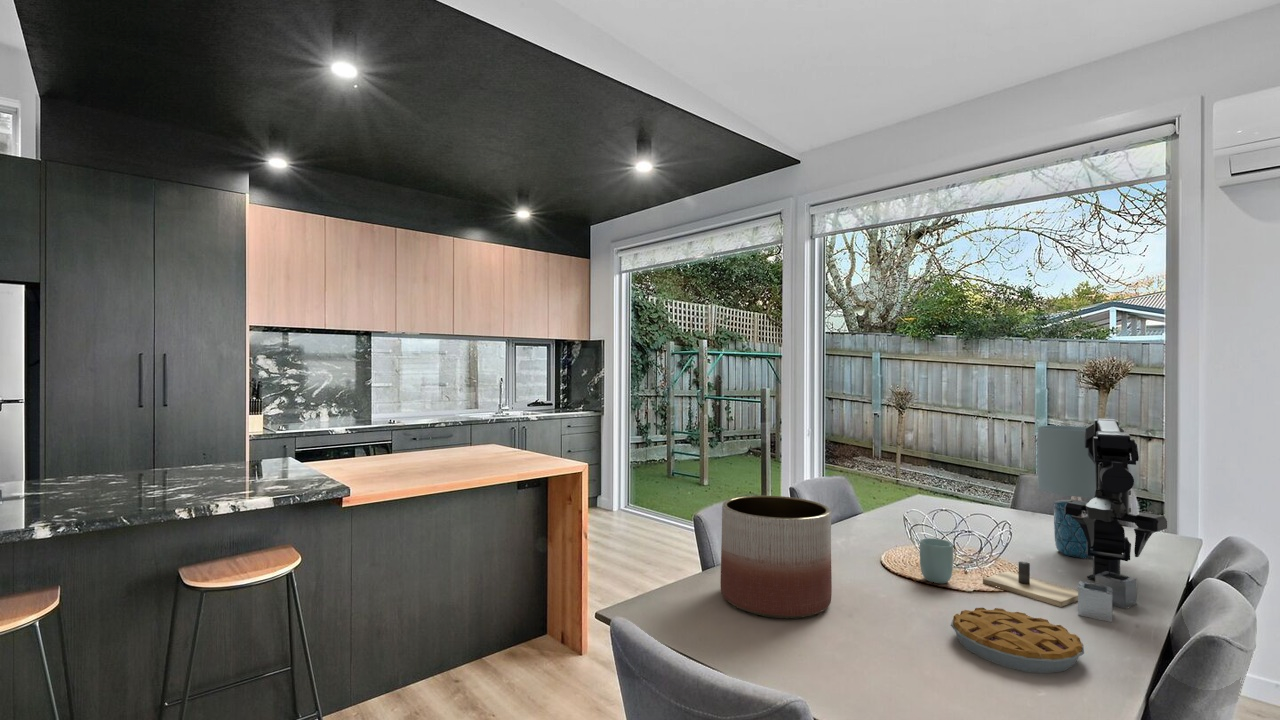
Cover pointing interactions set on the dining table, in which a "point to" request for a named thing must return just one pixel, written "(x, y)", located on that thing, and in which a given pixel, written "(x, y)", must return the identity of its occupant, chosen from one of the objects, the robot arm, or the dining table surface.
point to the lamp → (1066, 481)
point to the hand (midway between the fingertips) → (1113, 551)
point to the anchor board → (1033, 586)
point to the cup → (936, 559)
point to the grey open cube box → (1095, 601)
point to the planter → (776, 556)
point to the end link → (1119, 588)
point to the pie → (1017, 640)
